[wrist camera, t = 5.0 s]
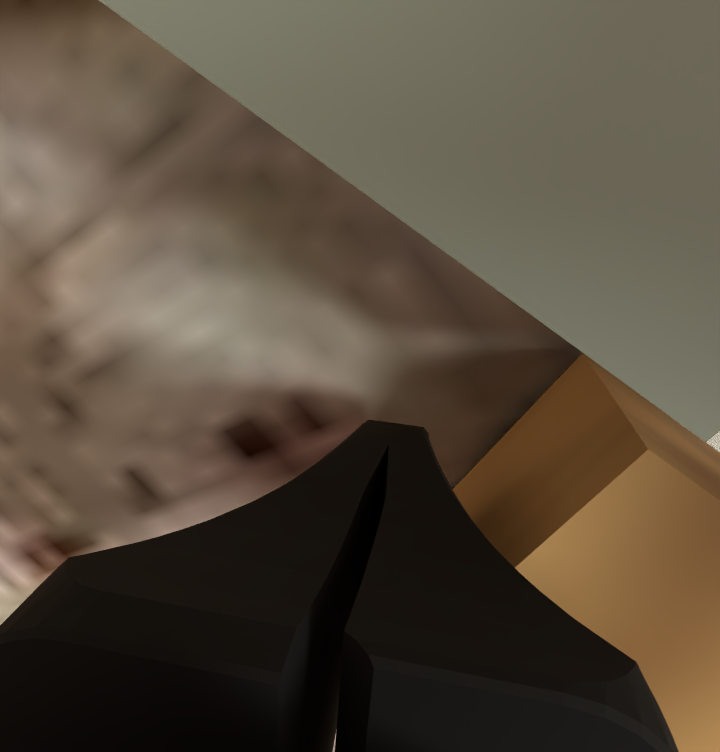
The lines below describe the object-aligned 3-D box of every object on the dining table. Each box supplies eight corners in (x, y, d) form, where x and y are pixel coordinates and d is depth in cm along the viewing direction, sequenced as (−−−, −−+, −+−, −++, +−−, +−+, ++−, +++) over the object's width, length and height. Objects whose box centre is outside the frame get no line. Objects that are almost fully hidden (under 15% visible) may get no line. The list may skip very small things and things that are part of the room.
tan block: (766, 486, 11) (918, 643, 8) (567, 637, 14) (609, 812, 10) (582, 352, 11) (648, 449, 7) (411, 532, 13) (394, 674, 10)
